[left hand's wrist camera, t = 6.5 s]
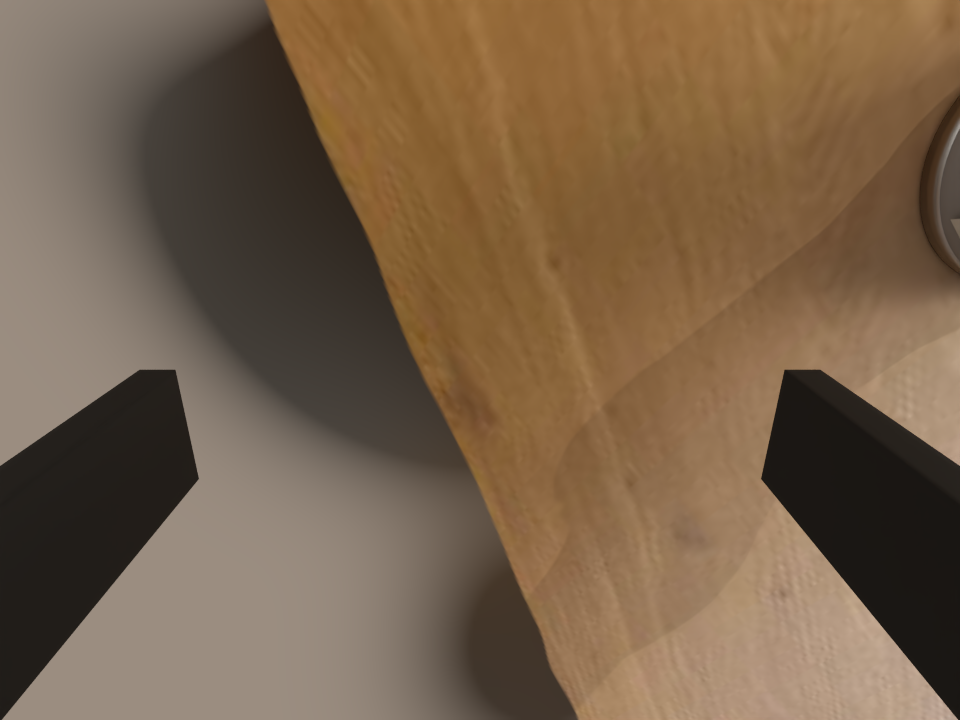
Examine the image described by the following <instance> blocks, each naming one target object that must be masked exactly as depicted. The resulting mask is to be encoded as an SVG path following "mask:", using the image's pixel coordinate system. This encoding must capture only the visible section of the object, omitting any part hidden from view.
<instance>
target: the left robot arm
mask: <svg viewBox="0 0 960 720" xmlns="http://www.w3.org/2000/svg"><path fill="white" fill-rule="evenodd" d="M920 210H921V216H922V222H923V225H924V229H925V232H926V235H927V237H928V239H929V242H930V243H931V245H932V247H933V248H934V250H935V251H936V253H937V254H938V255H939V257H940V258H941V259H942V260H943V261H944V262H945V263H946V264H947V265H948V266H950V267H951V268H952V269H954V270H955V271H956V272H958V273H960V96H959V97H958V99H957V100H956V101H955V103H954V104H953V106H952V107H951V108H950V110H949V111H948V113H947V115H946V116H945V118H944V119H943V121H942V123H941V125H940V127H939V129H938V131H937V133H936V134H935V137H934V139H933V141H932V144H931V146H930V149H929V152H928V155H927V158H926V161H925V165H924V169H923V173H922V179H921V186H920ZM198 479H199V478H198V473H197V468H196V464H195V459H194V454H193V450H192V445H191V441H190V436H189V431H188V427H187V422H186V417H185V413H184V408H183V403H182V399H181V394H180V389H179V385H178V380H177V375H176V371H175V370H139V371H137V372H136V373H134V374H133V375H132V376H130V377H129V378H127V379H126V380H124V381H123V382H121V383H120V384H119V385H117V386H116V387H114V388H113V389H111V390H110V391H108V392H107V393H105V394H104V395H103V396H101V397H100V398H98V399H97V400H95V401H94V402H92V403H91V404H90V405H88V406H87V407H85V408H84V409H82V410H81V411H79V412H78V413H76V414H75V415H74V416H72V417H71V418H69V419H68V420H66V421H65V422H63V423H62V424H61V425H59V426H58V427H56V428H55V429H53V430H52V431H50V432H49V433H47V434H46V435H45V436H43V437H42V438H40V439H39V440H37V441H36V442H34V443H33V444H32V445H30V446H29V447H27V448H26V449H24V450H23V451H21V452H20V453H18V454H17V455H16V456H14V457H13V458H11V459H10V460H8V461H7V462H5V463H4V464H3V465H1V466H0V720H2V719H3V717H4V716H5V715H6V714H7V713H8V711H9V710H10V709H11V708H12V706H13V705H14V704H15V703H16V702H17V700H18V699H19V698H20V697H21V696H22V694H23V693H24V692H25V691H26V689H27V688H28V687H29V686H30V684H31V683H32V682H33V681H34V680H35V678H36V677H37V676H38V675H39V674H40V672H41V671H42V670H43V669H44V667H45V666H46V665H47V664H48V663H49V661H50V660H51V659H52V658H53V656H54V655H55V654H56V653H57V651H58V650H59V649H60V648H61V647H62V645H63V644H64V643H65V642H66V641H67V639H68V638H69V637H70V636H71V634H72V633H73V632H74V631H75V630H76V628H77V627H78V626H79V625H80V623H81V622H82V621H83V620H84V619H85V617H86V616H87V615H88V614H89V612H90V611H91V610H92V609H93V608H94V606H95V605H96V604H97V603H98V601H99V600H100V599H101V598H102V597H103V595H104V594H105V593H106V592H107V590H108V589H109V588H110V587H111V585H112V584H113V583H114V582H115V581H116V579H117V578H118V577H119V576H120V575H121V573H122V572H123V571H124V570H125V568H126V567H127V566H128V565H129V564H130V562H131V561H132V560H133V559H134V557H135V556H136V555H137V554H138V553H139V551H140V550H141V549H142V548H143V546H144V545H145V544H146V543H147V542H148V540H149V539H150V538H151V537H152V535H153V534H154V533H155V532H156V531H157V529H158V528H159V527H160V526H161V524H162V523H163V522H164V521H165V520H166V518H167V517H168V516H169V515H170V513H171V512H172V511H173V510H174V509H175V507H176V506H177V505H178V504H179V502H180V501H181V500H182V499H183V498H184V496H185V495H186V494H187V493H188V491H189V490H190V489H191V488H192V487H193V485H194V484H195V483H196V482H197V480H198ZM761 479H762V480H763V482H764V483H765V484H766V485H767V487H768V488H769V489H770V490H771V491H772V493H773V494H774V495H775V496H776V498H777V499H778V500H779V501H780V502H781V504H782V505H783V506H784V507H785V509H786V510H787V511H788V512H789V513H790V515H791V516H792V517H793V518H794V520H795V521H796V522H797V523H798V524H799V526H800V527H801V528H802V529H803V531H804V532H805V533H806V534H807V535H808V537H809V538H810V539H811V540H812V542H813V543H814V544H815V545H816V546H817V548H818V549H819V550H820V551H821V553H822V554H823V555H824V556H825V557H826V559H827V560H828V561H829V562H830V564H831V565H832V566H833V567H834V568H835V570H836V571H837V572H838V573H839V575H840V576H841V577H842V578H843V579H844V581H845V582H846V583H847V584H848V586H849V587H850V588H851V589H852V590H853V592H854V593H855V594H856V595H857V597H858V598H859V599H860V600H861V601H862V603H863V604H864V605H865V606H866V608H867V609H868V610H869V611H870V612H871V614H872V615H873V616H874V617H875V619H876V620H877V621H878V622H879V623H880V625H881V626H882V627H883V628H884V630H885V631H886V632H887V633H888V634H889V636H890V637H891V638H892V639H893V641H894V642H895V643H896V644H897V645H898V647H899V648H900V649H901V650H902V652H903V653H904V654H905V655H906V656H907V658H908V659H909V660H910V661H911V663H912V664H913V665H914V666H915V667H916V669H917V670H918V671H919V672H920V674H921V675H922V676H923V677H924V678H925V680H926V681H927V682H928V683H929V685H930V686H931V687H932V688H933V689H934V691H935V692H936V693H937V694H938V696H939V697H940V698H941V699H942V700H943V702H944V703H945V704H946V705H947V707H948V708H949V709H950V710H951V711H952V713H953V714H954V715H955V716H956V718H957V719H958V720H960V466H959V465H957V464H956V463H955V462H953V461H952V460H950V459H949V458H947V457H946V456H944V455H943V454H942V453H940V452H939V451H937V450H936V449H934V448H933V447H931V446H930V445H928V444H927V443H926V442H924V441H923V440H921V439H920V438H918V437H917V436H915V435H914V434H913V433H911V432H910V431H908V430H907V429H905V428H904V427H902V426H901V425H899V424H898V423H897V422H895V421H894V420H892V419H891V418H889V417H888V416H886V415H885V414H884V413H882V412H881V411H879V410H878V409H876V408H875V407H873V406H872V405H870V404H869V403H868V402H866V401H865V400H863V399H862V398H860V397H859V396H857V395H856V394H855V393H853V392H852V391H850V390H849V389H847V388H846V387H844V386H843V385H841V384H840V383H839V382H837V381H836V380H834V379H833V378H831V377H830V376H828V375H827V374H826V373H824V372H823V371H821V370H785V371H784V375H783V380H782V385H781V389H780V394H779V399H778V403H777V408H776V412H775V417H774V422H773V426H772V431H771V436H770V440H769V445H768V450H767V454H766V459H765V464H764V468H763V473H762V478H761Z"/></svg>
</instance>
